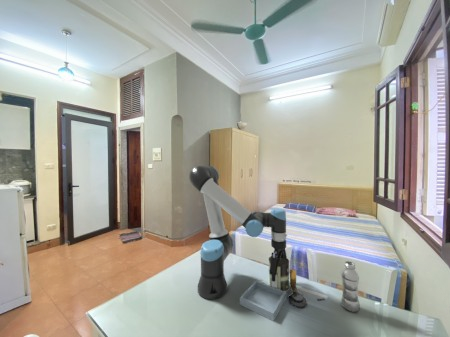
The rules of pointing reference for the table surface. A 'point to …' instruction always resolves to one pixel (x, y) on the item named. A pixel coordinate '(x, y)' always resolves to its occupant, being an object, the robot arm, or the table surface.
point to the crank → (295, 295)
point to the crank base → (298, 304)
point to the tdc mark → (320, 299)
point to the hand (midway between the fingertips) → (278, 280)
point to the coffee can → (281, 274)
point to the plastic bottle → (350, 287)
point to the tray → (263, 299)
